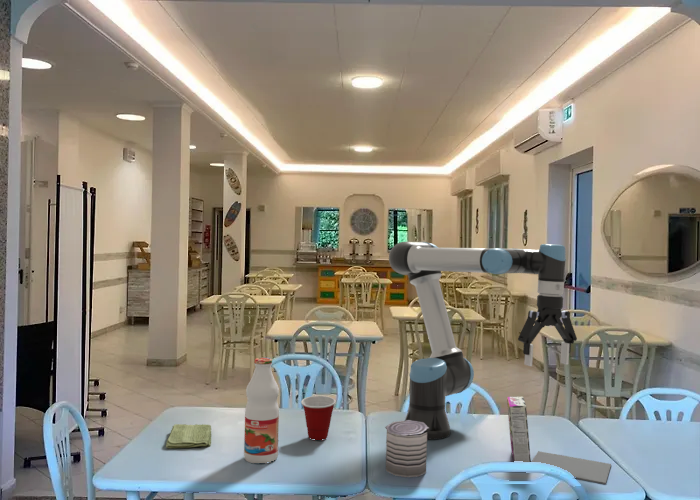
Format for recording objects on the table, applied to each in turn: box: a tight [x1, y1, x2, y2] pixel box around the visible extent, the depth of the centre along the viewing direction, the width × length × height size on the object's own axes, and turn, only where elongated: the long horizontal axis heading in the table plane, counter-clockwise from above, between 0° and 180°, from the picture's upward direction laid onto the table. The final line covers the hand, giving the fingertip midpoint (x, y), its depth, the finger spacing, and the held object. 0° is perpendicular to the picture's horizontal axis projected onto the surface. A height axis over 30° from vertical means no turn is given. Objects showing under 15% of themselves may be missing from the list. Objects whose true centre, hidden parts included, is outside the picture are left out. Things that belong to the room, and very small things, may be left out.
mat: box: [531, 450, 612, 485], centre depth 168 cm, size 20×16×1 cm
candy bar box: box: [506, 396, 532, 462], centre depth 175 cm, size 11×5×16 cm, turn 169°
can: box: [384, 419, 429, 478], centre depth 163 cm, size 11×11×12 cm
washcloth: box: [165, 423, 212, 450], centre depth 184 cm, size 13×18×3 cm
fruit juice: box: [243, 357, 280, 464], centre depth 169 cm, size 9×9×28 cm
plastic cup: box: [300, 395, 337, 441], centre depth 188 cm, size 11×11×12 cm
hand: (546, 364), depth 183 cm, fingers open, 13 cm apart
